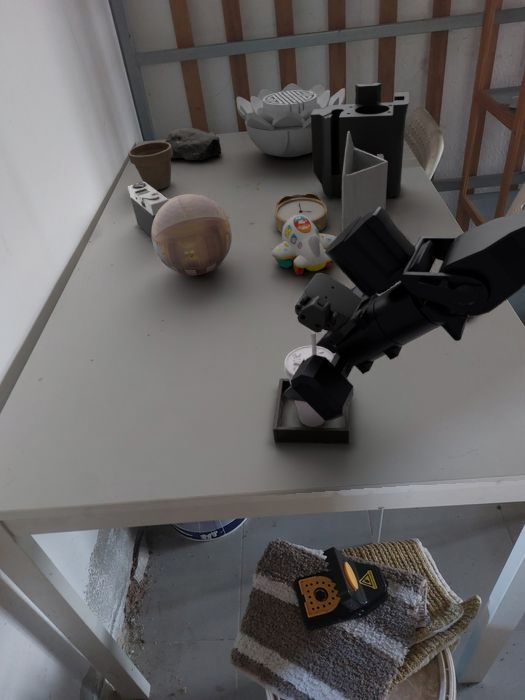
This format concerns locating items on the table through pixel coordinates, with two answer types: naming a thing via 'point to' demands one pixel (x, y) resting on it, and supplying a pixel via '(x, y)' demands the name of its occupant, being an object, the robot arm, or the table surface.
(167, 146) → the flower pot
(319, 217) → the alarm clock
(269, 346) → the table surface
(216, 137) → the stone
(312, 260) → the toy airplane
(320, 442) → the black square tray
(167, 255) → the ornament
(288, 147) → the decorative bowl
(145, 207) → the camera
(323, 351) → the smoothie
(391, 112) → the black machined bracket
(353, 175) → the grey angular upright piece
